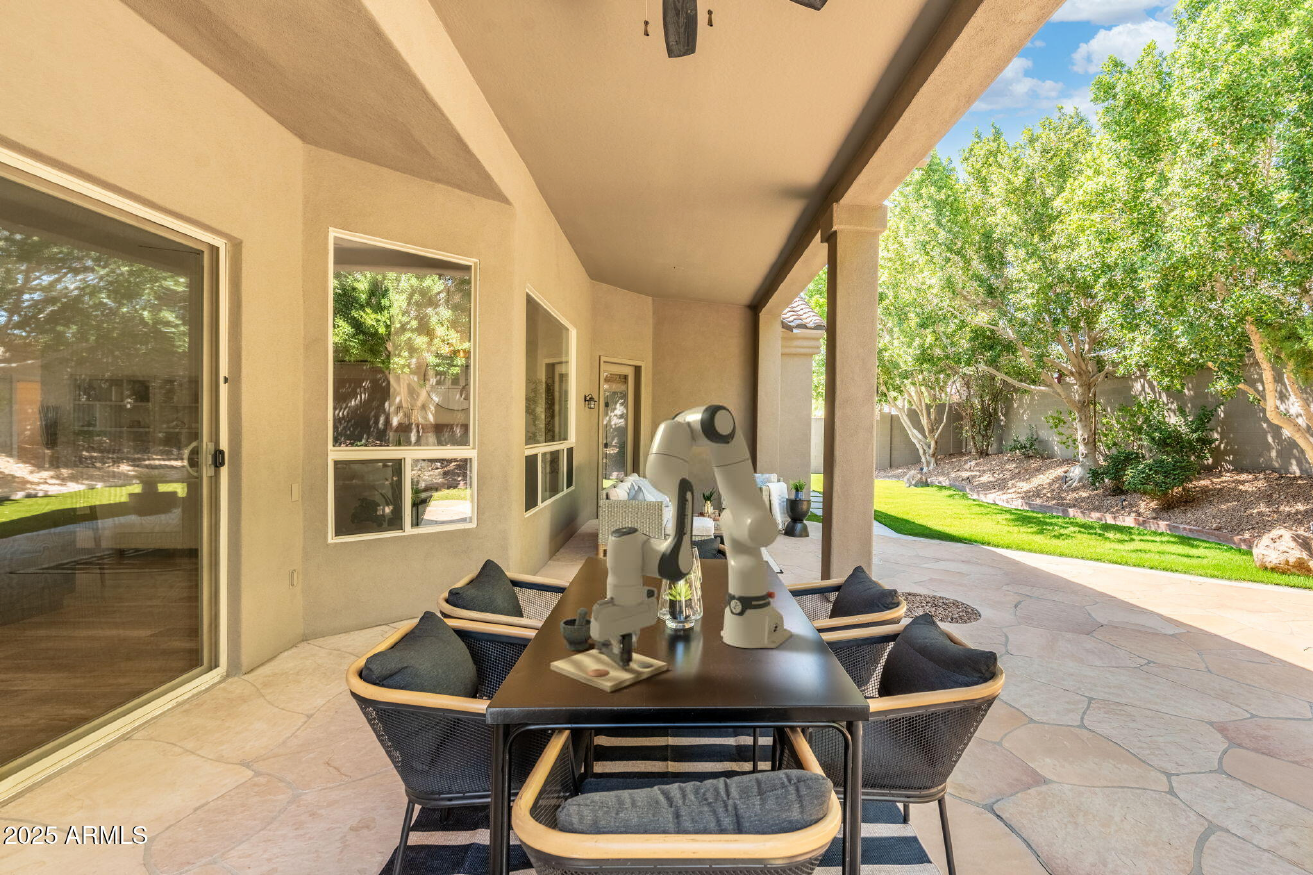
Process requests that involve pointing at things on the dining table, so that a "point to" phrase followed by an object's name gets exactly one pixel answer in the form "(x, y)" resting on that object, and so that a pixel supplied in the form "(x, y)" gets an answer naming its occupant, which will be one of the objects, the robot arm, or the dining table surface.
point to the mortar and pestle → (577, 631)
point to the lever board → (607, 669)
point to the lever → (620, 658)
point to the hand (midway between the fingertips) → (625, 650)
